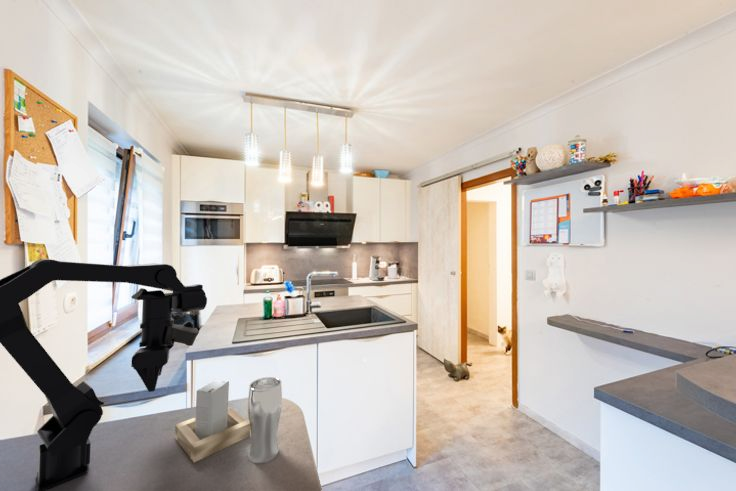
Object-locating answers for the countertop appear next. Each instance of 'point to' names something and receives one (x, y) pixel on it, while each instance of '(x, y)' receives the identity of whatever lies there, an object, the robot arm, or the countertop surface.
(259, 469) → the countertop surface
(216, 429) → the skincare box
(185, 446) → the frame
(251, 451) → the beer glass
